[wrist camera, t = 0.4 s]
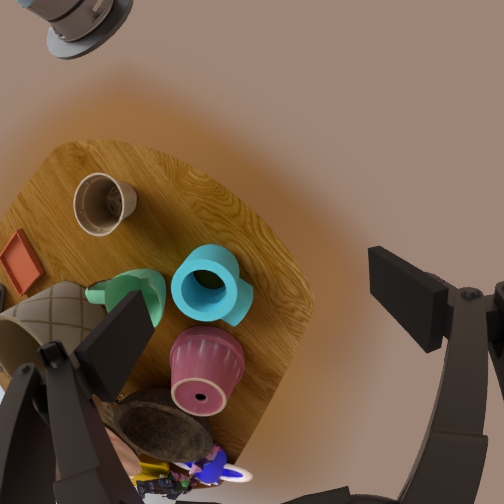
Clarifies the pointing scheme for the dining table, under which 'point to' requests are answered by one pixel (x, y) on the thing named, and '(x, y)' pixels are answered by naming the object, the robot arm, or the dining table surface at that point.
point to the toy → (201, 464)
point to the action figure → (165, 486)
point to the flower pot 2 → (205, 369)
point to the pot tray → (21, 263)
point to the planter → (46, 324)
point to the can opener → (1, 297)
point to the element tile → (151, 469)
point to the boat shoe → (110, 419)
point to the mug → (128, 281)
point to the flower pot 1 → (102, 203)
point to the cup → (212, 300)
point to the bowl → (162, 427)
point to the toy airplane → (219, 470)
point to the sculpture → (125, 455)
